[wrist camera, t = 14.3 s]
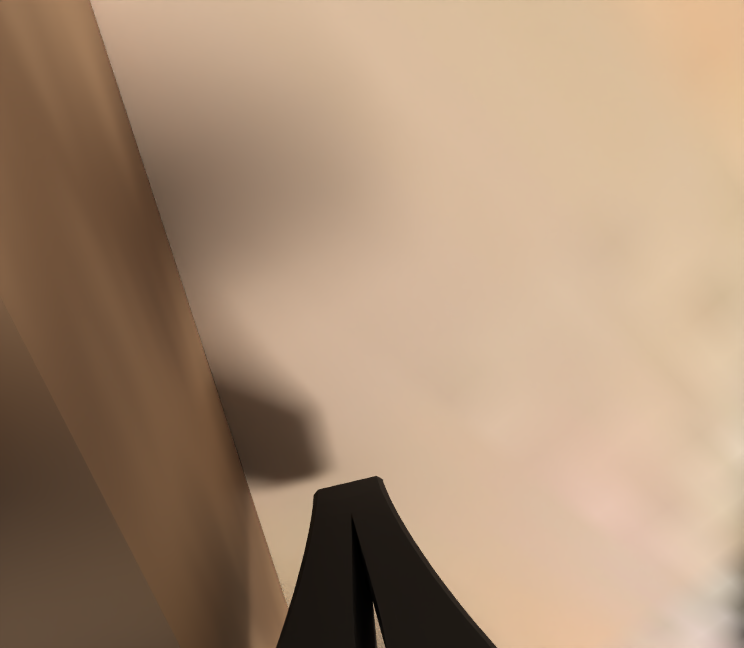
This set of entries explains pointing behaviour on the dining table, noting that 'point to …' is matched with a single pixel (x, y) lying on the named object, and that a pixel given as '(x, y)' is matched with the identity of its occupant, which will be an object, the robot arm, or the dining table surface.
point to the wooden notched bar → (106, 381)
